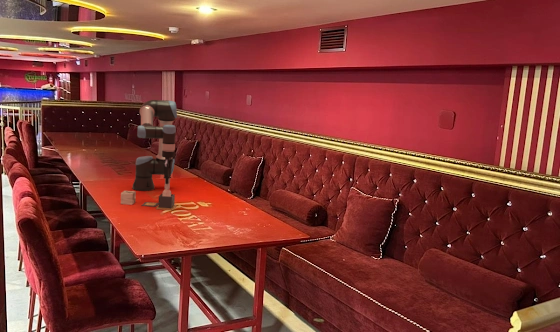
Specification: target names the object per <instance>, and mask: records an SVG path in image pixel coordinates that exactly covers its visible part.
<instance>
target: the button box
mask: <svg viewBox="0 0 560 332" xmlns="http://www.w3.org/2000/svg"><path fill="white" fill-rule="evenodd" d="M162 195H163V193H160V194H159V195H158V202H157V203H158V205H157V206H156V207H155V209H156V210H161V211H162V210H164V211H173V210H174V209H175V208H176V207H177V204H175V201H176V200H175V199H176V198H175V197H176V196H175V194H174V193H173V194H172V193H171V197H167V196H162Z"/></svg>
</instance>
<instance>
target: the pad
mask: <svg viewBox="0 0 560 332" xmlns="http://www.w3.org/2000/svg"><path fill="white" fill-rule="evenodd" d="M141 207H150V208H151V207H152V208H157V207H158V202H151V201H144V203H142V204H141Z"/></svg>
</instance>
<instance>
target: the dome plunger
mask: <svg viewBox="0 0 560 332" xmlns="http://www.w3.org/2000/svg"><path fill="white" fill-rule="evenodd" d="M162 194H163V195H162V196H167V197H171V194H172V191H171V189H165V188H164V190H162Z"/></svg>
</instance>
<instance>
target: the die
mask: <svg viewBox="0 0 560 332" xmlns="http://www.w3.org/2000/svg"><path fill="white" fill-rule="evenodd" d="M136 192H137V191H136V190H135V191H134V190H123V191H122V192H120V205H130V206H132V205H134V204H136V199H137V198H136Z"/></svg>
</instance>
